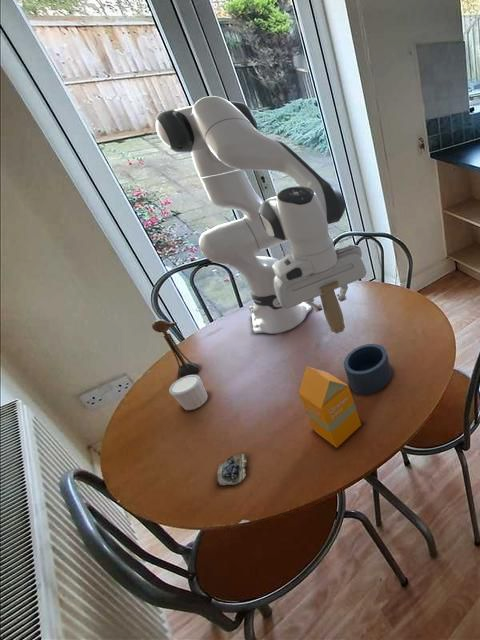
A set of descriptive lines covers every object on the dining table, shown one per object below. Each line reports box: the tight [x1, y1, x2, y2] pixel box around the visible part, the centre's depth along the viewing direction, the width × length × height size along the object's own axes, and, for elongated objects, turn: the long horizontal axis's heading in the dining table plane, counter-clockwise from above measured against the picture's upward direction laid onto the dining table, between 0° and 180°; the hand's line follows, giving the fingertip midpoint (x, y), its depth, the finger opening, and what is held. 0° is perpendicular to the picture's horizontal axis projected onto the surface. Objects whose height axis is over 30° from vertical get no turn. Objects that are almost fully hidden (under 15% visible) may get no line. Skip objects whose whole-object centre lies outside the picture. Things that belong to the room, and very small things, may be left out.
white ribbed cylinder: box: [168, 374, 209, 411], centre depth 108 cm, size 7×7×7 cm
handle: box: [319, 281, 346, 334], centre depth 99 cm, size 5×6×15 cm
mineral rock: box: [216, 453, 247, 486], centre depth 92 cm, size 7×8×2 cm
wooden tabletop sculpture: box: [151, 319, 200, 378], centre depth 114 cm, size 6×5×20 cm
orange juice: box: [298, 365, 362, 448], centre depth 97 cm, size 8×9×20 cm
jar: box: [343, 343, 392, 395], centre depth 114 cm, size 12×12×8 cm
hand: (330, 304), depth 99 cm, fingers closed on handle, 4 cm apart
